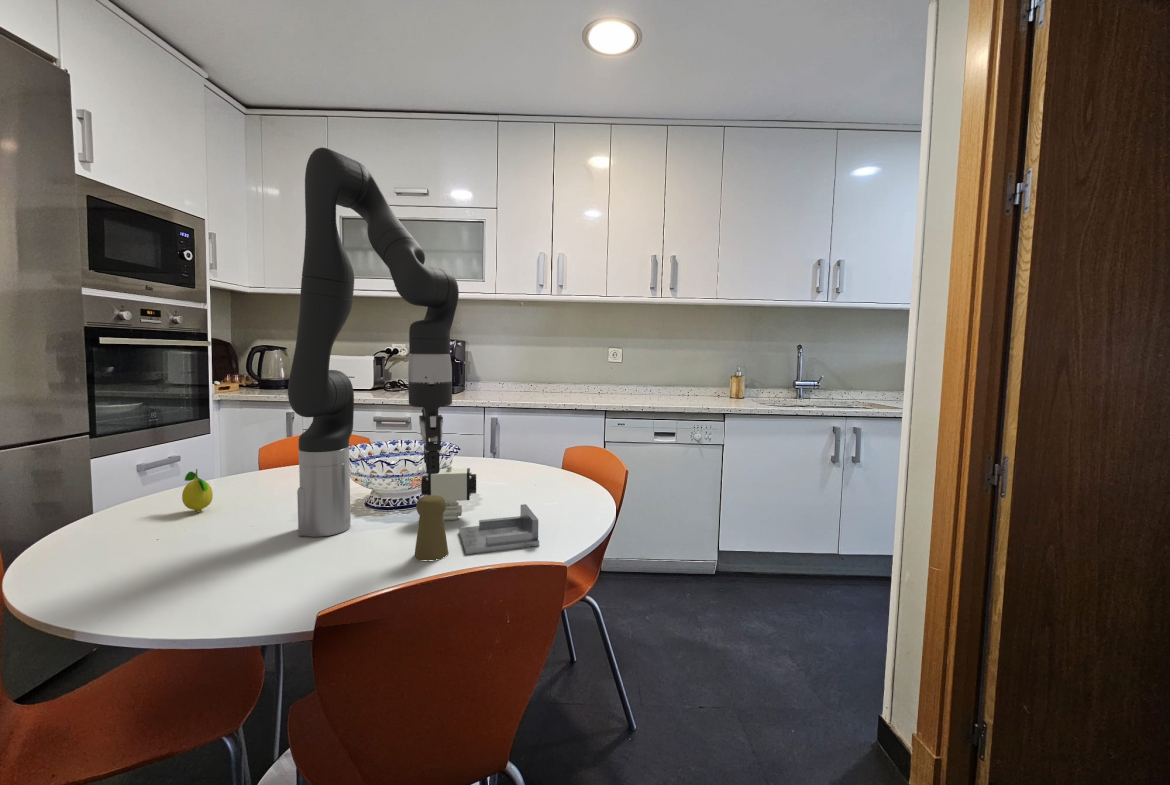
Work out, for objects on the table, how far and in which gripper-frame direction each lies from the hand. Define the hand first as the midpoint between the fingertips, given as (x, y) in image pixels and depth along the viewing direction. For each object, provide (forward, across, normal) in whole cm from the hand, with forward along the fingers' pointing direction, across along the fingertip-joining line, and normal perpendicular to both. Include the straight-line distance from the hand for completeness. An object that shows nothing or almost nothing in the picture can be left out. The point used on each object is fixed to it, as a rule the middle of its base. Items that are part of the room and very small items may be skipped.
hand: (431, 468), depth 91 cm
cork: (+16, 0, 0) cm, 17 cm away
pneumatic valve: (+16, -20, +5) cm, 26 cm away
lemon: (+16, -41, -49) cm, 66 cm away
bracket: (+16, -4, +13) cm, 21 cm away
